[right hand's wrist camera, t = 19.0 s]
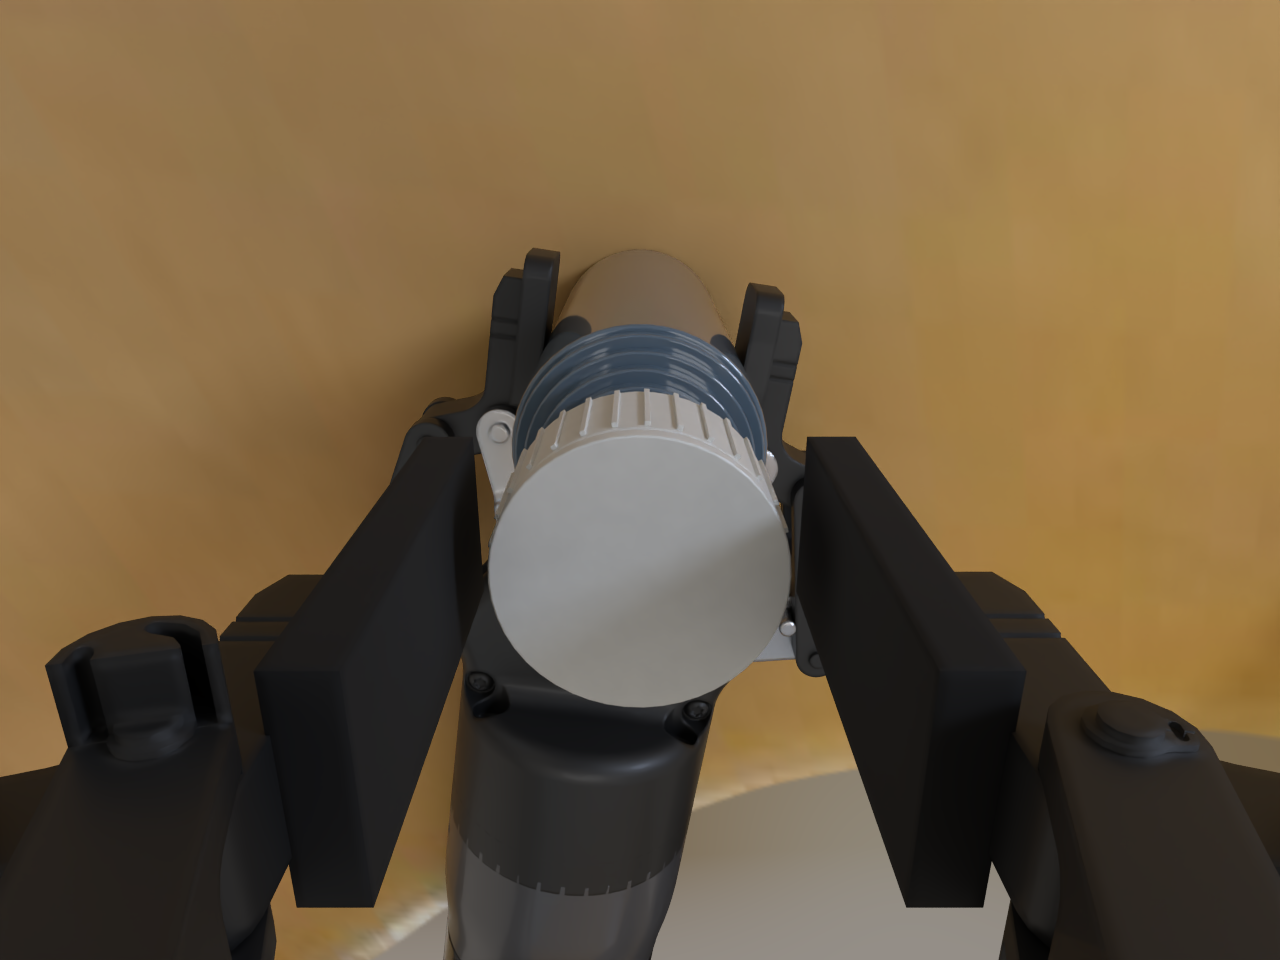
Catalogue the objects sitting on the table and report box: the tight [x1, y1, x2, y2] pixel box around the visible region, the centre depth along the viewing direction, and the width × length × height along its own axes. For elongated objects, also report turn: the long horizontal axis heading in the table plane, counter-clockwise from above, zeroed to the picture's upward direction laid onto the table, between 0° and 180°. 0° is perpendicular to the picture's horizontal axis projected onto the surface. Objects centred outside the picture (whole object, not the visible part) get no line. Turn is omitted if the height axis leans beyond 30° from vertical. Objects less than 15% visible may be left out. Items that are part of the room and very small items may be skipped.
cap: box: [487, 389, 792, 707], centre depth 13 cm, size 4×4×2 cm
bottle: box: [512, 250, 767, 469], centre depth 21 cm, size 5×5×17 cm
